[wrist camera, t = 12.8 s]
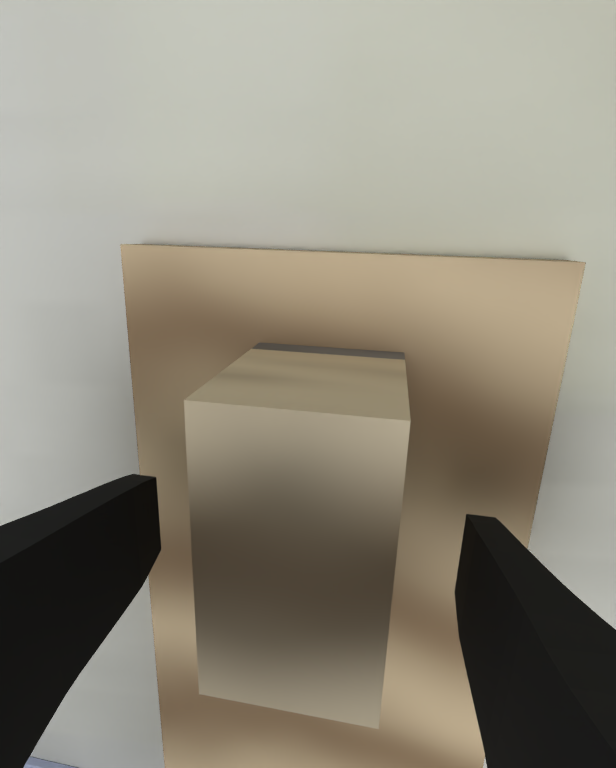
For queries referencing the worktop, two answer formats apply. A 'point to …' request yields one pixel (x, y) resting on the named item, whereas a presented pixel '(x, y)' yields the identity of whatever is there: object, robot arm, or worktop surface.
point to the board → (422, 476)
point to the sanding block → (297, 526)
